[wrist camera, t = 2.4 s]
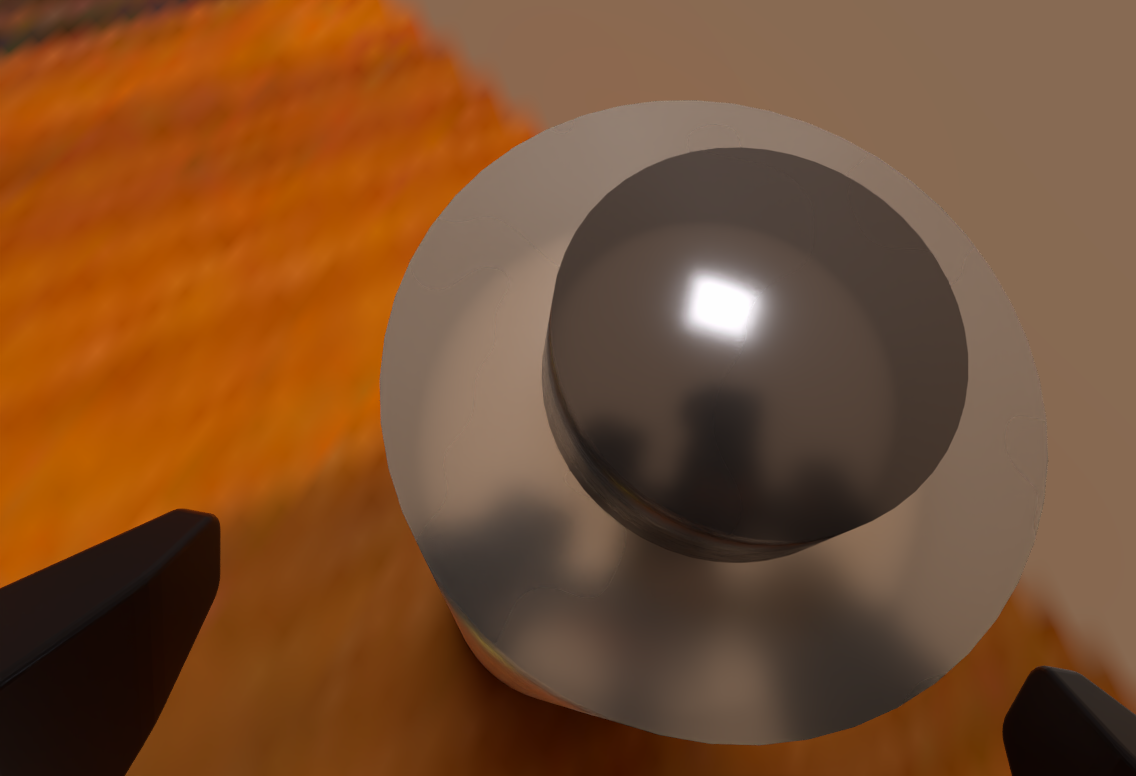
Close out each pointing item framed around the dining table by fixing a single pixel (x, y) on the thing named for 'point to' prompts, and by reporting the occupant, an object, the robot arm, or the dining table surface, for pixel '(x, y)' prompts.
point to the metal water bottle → (711, 424)
